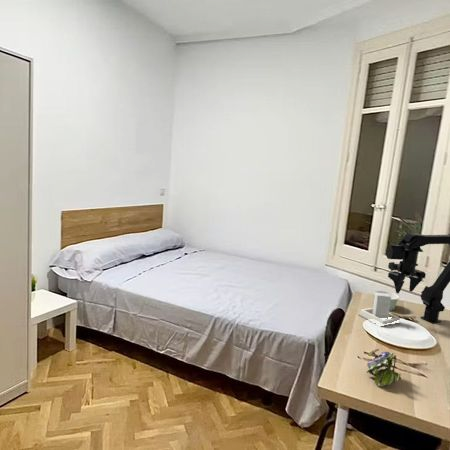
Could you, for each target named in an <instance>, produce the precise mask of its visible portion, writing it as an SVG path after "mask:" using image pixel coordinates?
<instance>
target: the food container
mask: <svg viewBox="0 0 450 450" xmlns="http://www.w3.org/2000/svg"><path fill="white" fill-rule="evenodd" d="M375 293H386V294H389V295H390V296H391V301H390V308H389V311H394V310H395V309H396V305H397V303H398V300H399V299H400V296H399V295H398V294H397V293H394V292H390V291H386V290H375V291H373V295H375Z"/></svg>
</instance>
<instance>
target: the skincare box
mask: <svg viewBox="0 0 450 450" xmlns="http://www.w3.org/2000/svg"><path fill="white" fill-rule="evenodd" d="M390 301H391V296H390V295H389V294H386V293H375V294H374V301H373V306H372V308H373V313H372V315H374V316H376V317H378V318H387V319H388V315H389V313H390V310H389V308H390Z"/></svg>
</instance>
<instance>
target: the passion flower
mask: <svg viewBox="0 0 450 450" xmlns="http://www.w3.org/2000/svg"><path fill="white" fill-rule="evenodd" d="M379 350H380V348H376V349H373V350H371V351H370V352H369V353H368V354H367V356H371V355H374V357H373V358H371V359H370V361H369V362H367V365H366V367H368V369H367V370H365V371H366V373H371V374H372V373H373V375H375V376H374V378H375V379H374V384H375V385H376V387H378V386H379V383H380V382H381V383H380V384H381V385H380V386H381V387H383V386H386V385H388V386H389V385H391V384H392V383H393V382H394V384H395V383H396V382H399V381H402V377H401V375H402V374H401V373H399V372H396V371H395V368H396V361H397V355H396V353H394V352H392V351H391V352H389V351H383V352H381V353H380V354H376V352H378V351H379ZM393 360H394V362H393ZM392 366H393V367H392ZM383 367H384V368H383ZM391 368H392V369H391Z"/></svg>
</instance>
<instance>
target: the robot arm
mask: <svg viewBox="0 0 450 450" xmlns="http://www.w3.org/2000/svg"><path fill="white" fill-rule="evenodd" d="M426 245H427V246H428V245H448V246H449V247H450V234H421V233H416V232H406V234H405V235H404V237H403V238H402V239H401V240H400V241H399V242H398V243H397V244H392V243H390V244H389V246H388V247H387V249H386V250H385V256H386V259H387V260H398V261H399V260H400V261H399V263H395V262H394V261H392V262H388V267H387V268H388V269H389V270H390V272H388V275H387V278H389V279H390V280H391V281H392V282H393V284H394V289H395V294H396V295H398V294H400V292H401V290H402V288H403V285H404V283H405V279H406V278H408V279H409V288H408V289H409V291H408V292H410V293H411V292H413V291H414V290H415V288H416V287H417V286H418V285H419V284H420V283H421V282H422V281H423V280H424V279H426V275H427V274H426V273H425V271H422V270H419V269H416V267H418V266H419V263H418V262H417V261H418V254H419V253H423V252H424V250H423V249H422V248H421V247H424V246H426ZM449 283H450V260H449V261H448V262H447V264H446V265H445V266H444V268H443V270H442V271H441V273H440V274H439V276H438V277H437V278H436V280H435V281H434V282H433V284H432V285H429V286H428V285H426V286H424V288H423V290H422V291H421V294H420V299H421V301H422V304H423V305H424V306H425V307H424V308H425V309H424V311H423V315H422V316H420V319H422V320H424V321H426V322H429V323H431V324H436V323H441V322H442V320H441V319H439V316H440V313H441V312H444V310H445V308H446V307H445V305H444V304H443V303H442V300H443V298H444V297H443V296H444V291H445V289H446V288H447V286H448V285H449Z"/></svg>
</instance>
